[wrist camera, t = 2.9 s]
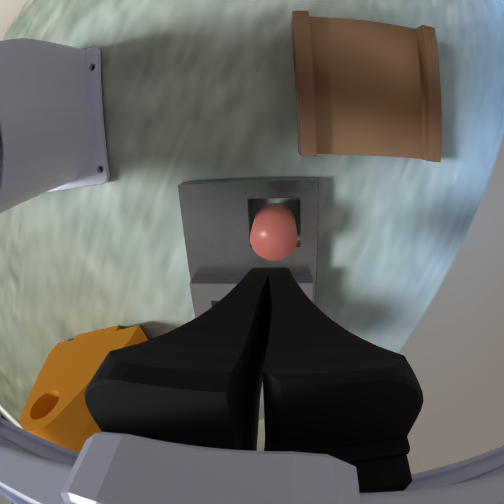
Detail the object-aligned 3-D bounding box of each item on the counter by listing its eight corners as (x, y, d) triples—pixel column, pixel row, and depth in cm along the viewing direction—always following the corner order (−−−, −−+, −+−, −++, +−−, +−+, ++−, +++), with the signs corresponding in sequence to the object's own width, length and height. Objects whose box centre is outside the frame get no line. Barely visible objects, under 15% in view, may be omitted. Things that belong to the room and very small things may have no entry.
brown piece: (291, 23, 14) (292, 10, 12) (419, 35, 13) (434, 28, 11) (298, 152, 17) (300, 156, 15) (424, 157, 16) (440, 162, 14)
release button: (252, 203, 18) (248, 216, 15) (295, 203, 17) (297, 215, 15) (255, 243, 19) (251, 260, 16) (295, 242, 18) (297, 260, 16)
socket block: (183, 182, 19) (171, 189, 17) (316, 177, 18) (320, 184, 16) (208, 353, 24) (202, 372, 22) (309, 355, 23) (311, 375, 21)
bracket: (101, 390, 28) (55, 476, 17) (62, 338, 26) (-3, 423, 15) (184, 381, 26) (145, 497, 15) (142, 319, 23) (72, 439, 12)
